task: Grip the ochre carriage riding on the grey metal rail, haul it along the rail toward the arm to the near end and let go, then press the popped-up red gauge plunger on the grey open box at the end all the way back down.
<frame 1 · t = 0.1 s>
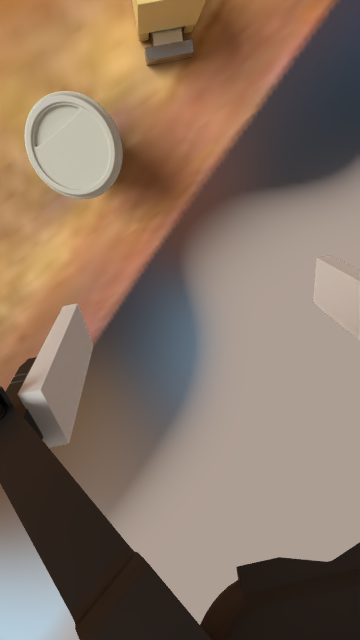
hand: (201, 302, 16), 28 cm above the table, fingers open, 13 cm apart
coffee cup: (91, 151, 36), on the table
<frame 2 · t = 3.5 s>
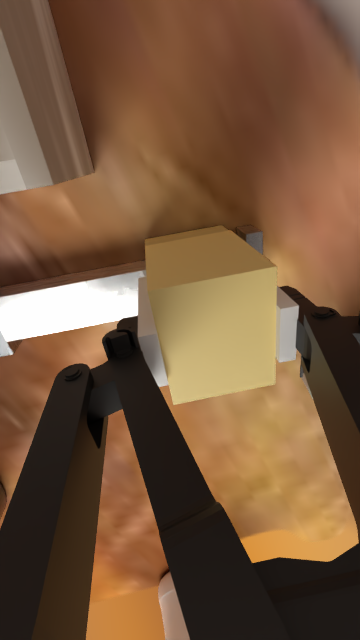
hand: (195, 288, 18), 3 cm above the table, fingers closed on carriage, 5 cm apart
vodka: (188, 574, 43), on the table
carriage: (201, 301, 16), point 5 cm above the table, slide at 4.5 cm, touching gripper
rail: (124, 285, 20), on the table
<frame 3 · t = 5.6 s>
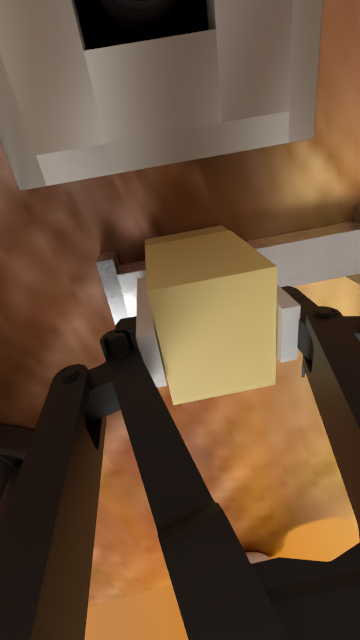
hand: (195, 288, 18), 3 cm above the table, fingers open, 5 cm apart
grey open box: (137, 59, 14), on the table
carriage: (201, 301, 16), point 5 cm above the table, slide at -3.5 cm
rail: (238, 263, 20), on the table
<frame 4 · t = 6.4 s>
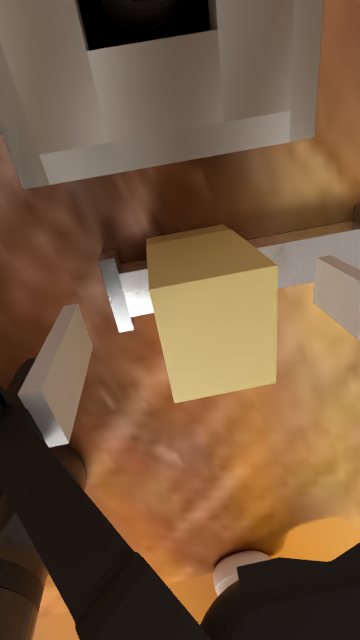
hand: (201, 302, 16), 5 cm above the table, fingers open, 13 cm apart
grey open box: (139, 59, 14), on the table
vodka: (241, 561, 44), on the table
carriage: (202, 300, 16), point 5 cm above the table, slide at -3.5 cm
rail: (239, 263, 20), on the table
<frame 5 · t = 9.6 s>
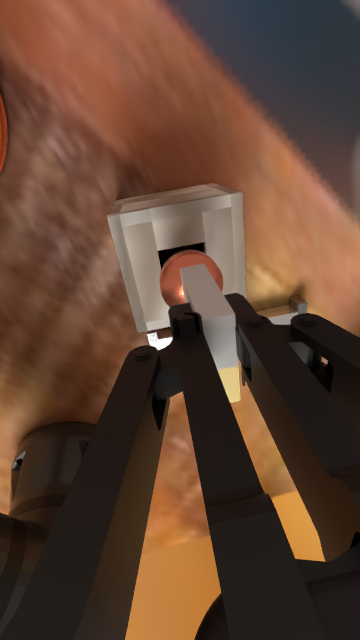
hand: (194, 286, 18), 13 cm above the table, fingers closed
grey open box: (172, 239, 29), on the table
plunger: (186, 272, 21), point 10 cm above the table, slide at 2.0 cm, touching gripper
carriage: (203, 356, 31), point 5 cm above the table, slide at -3.5 cm
rail: (224, 328, 35), on the table
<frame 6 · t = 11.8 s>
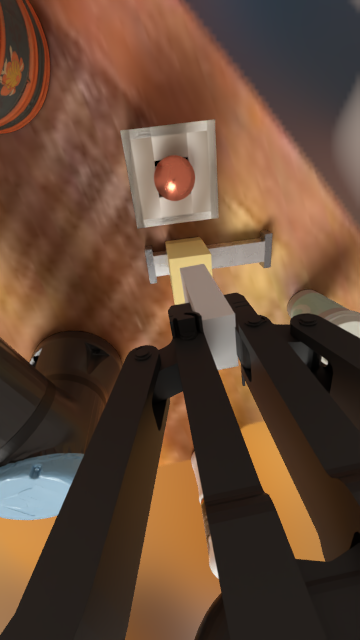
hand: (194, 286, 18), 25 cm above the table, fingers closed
grey open box: (167, 172, 37), on the table
vodka: (210, 452, 67), on the table
coffee cup: (303, 304, 49), on the table
plunger: (172, 177, 30), point 8 cm above the table, slide at 0.3 cm
carriage: (187, 268, 39), point 5 cm above the table, slide at -3.5 cm
rail: (207, 254, 43), on the table
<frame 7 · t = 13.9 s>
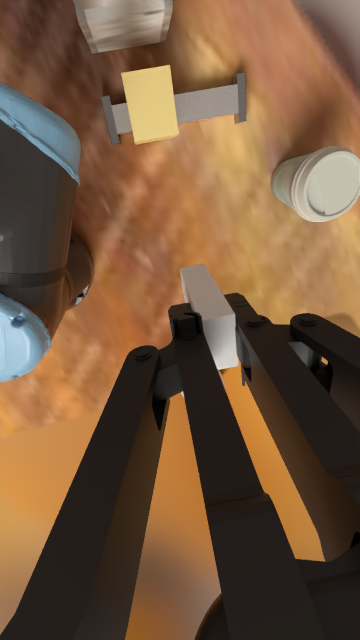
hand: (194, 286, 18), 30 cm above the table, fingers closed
coffee cup: (288, 180, 45), on the table
carriage: (150, 111, 34), point 5 cm above the table, slide at -3.5 cm
rail: (175, 111, 39), on the table
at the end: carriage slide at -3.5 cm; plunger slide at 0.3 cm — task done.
